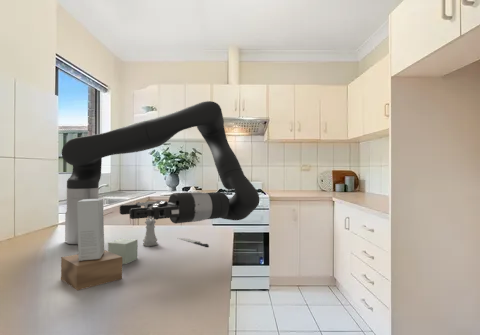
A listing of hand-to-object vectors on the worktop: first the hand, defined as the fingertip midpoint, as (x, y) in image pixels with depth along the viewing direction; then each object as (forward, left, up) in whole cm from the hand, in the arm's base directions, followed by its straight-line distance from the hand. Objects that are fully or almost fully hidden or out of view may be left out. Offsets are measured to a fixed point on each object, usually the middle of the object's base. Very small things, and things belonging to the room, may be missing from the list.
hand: (124, 211), depth 72 cm
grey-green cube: (-8, +6, -14) cm, 17 cm away
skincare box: (-2, -7, -9) cm, 11 cm away
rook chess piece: (-15, +22, -14) cm, 30 cm away
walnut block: (-2, -7, -14) cm, 16 cm away
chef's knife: (-7, +33, -14) cm, 36 cm away
